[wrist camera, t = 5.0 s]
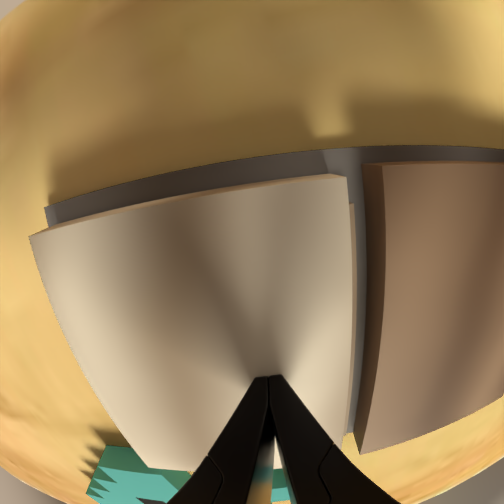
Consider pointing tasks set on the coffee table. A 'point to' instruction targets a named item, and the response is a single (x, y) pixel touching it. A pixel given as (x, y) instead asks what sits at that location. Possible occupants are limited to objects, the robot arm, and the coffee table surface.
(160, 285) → the beige rectangular slab
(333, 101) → the coffee table surface
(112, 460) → the alien figure
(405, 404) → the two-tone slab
